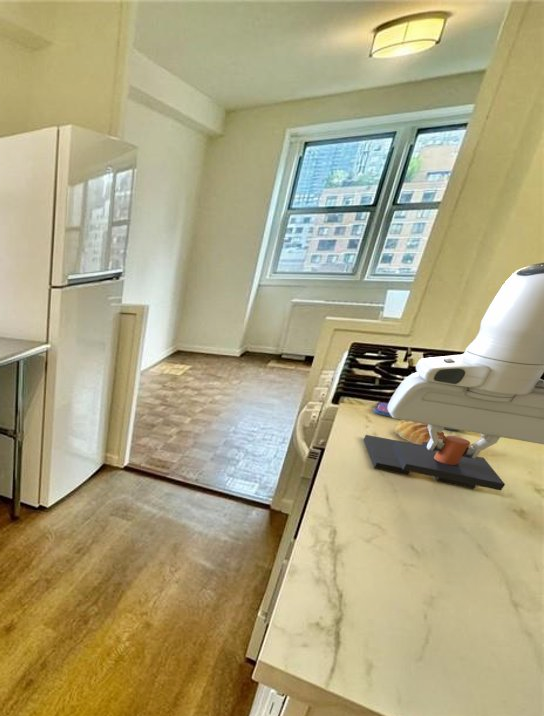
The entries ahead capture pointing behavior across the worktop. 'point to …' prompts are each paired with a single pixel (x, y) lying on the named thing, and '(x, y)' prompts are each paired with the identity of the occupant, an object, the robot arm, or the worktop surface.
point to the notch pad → (393, 458)
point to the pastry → (415, 432)
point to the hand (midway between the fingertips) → (449, 452)
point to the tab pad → (447, 463)
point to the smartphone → (382, 409)
